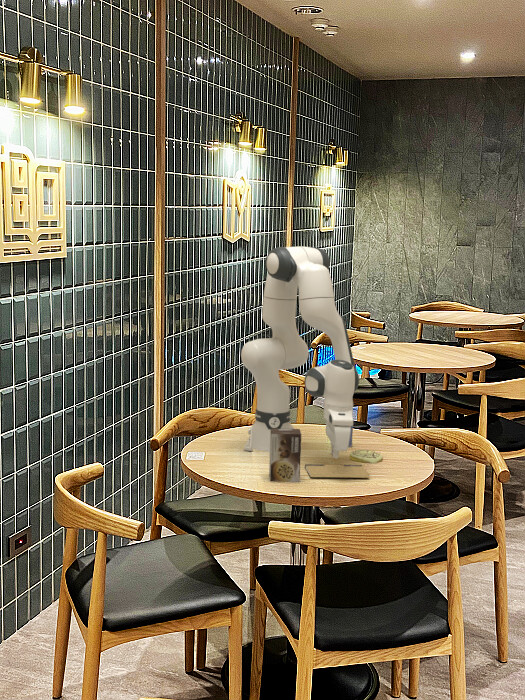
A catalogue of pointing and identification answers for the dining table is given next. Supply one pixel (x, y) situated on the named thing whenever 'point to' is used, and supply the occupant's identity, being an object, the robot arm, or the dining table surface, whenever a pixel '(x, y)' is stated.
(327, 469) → the flap
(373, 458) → the decorated donut
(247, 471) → the dining table surface
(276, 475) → the coffee box
